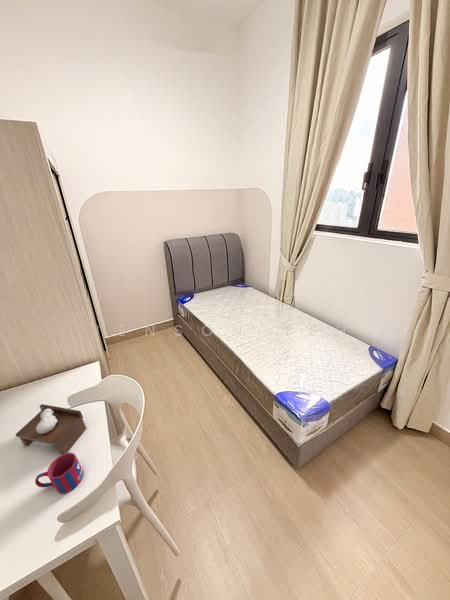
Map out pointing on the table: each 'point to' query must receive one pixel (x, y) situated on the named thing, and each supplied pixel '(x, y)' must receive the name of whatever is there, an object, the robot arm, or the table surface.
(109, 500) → the table surface
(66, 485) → the mug
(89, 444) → the table surface
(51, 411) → the smooth white sculpture
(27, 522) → the table surface
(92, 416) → the table surface
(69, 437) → the shelf
